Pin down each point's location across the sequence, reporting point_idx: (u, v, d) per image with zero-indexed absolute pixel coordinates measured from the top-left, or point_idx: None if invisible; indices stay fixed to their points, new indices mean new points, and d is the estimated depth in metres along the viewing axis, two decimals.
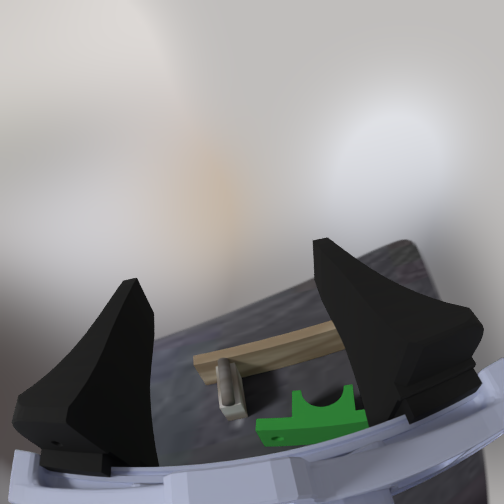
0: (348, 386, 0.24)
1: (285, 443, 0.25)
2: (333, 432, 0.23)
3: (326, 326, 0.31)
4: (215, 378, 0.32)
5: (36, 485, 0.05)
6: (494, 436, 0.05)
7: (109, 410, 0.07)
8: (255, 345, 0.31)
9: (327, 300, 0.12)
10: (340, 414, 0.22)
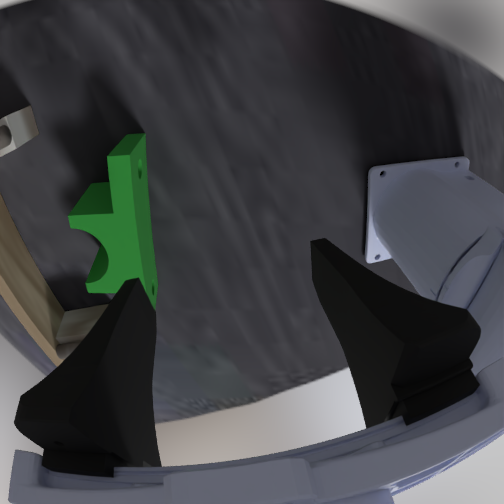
0: (71, 221, 0.14)
1: (154, 268, 0.21)
2: (143, 229, 0.17)
3: None
4: None
5: (36, 486, 0.05)
6: (494, 436, 0.05)
7: (112, 410, 0.07)
8: (28, 326, 0.18)
9: (325, 301, 0.12)
10: (121, 234, 0.15)
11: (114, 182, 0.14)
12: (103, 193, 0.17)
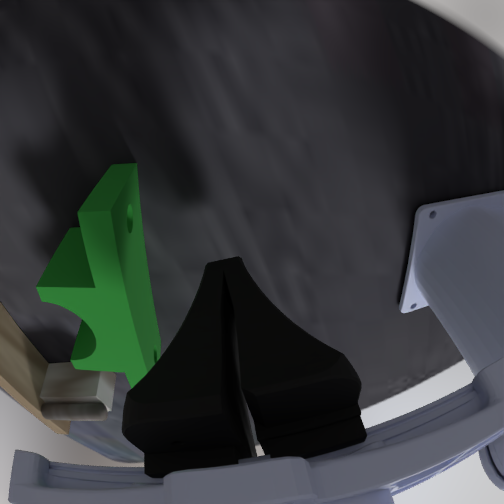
0: (41, 294, 0.10)
1: (155, 329, 0.17)
2: (138, 296, 0.13)
3: None
4: None
5: (35, 486, 0.05)
6: (494, 436, 0.05)
7: (233, 396, 0.07)
8: (7, 388, 0.14)
9: None
10: (108, 313, 0.11)
11: (91, 248, 0.09)
12: (83, 247, 0.12)
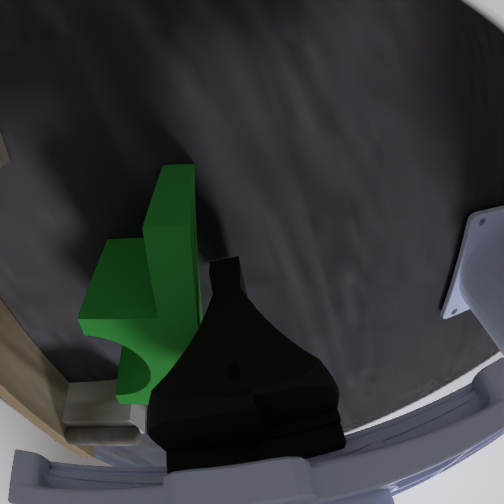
0: (85, 327, 0.09)
1: None
2: None
3: None
4: None
5: (36, 485, 0.05)
6: (494, 436, 0.05)
7: None
8: (26, 414, 0.12)
9: None
10: (171, 345, 0.09)
11: (159, 272, 0.08)
12: (130, 266, 0.11)
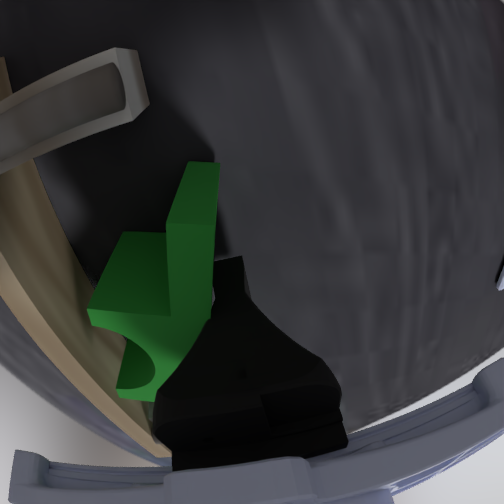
0: (93, 317, 0.09)
1: None
2: None
3: (23, 309, 0.08)
4: None
5: (36, 485, 0.05)
6: (494, 436, 0.05)
7: None
8: (114, 415, 0.13)
9: None
10: (181, 345, 0.09)
11: (177, 270, 0.08)
12: (145, 260, 0.11)
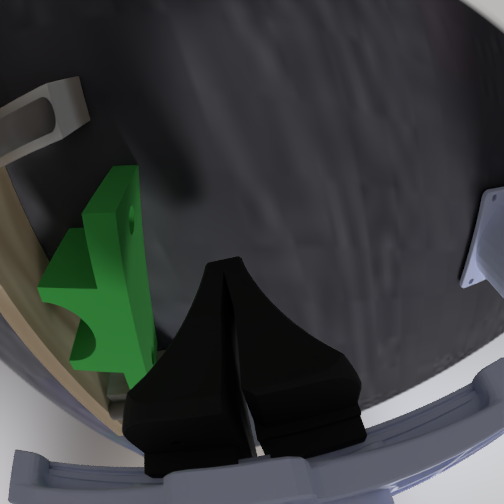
0: (42, 294, 0.10)
1: (153, 329, 0.17)
2: (138, 297, 0.13)
3: None
4: None
5: (36, 485, 0.05)
6: (494, 436, 0.05)
7: (233, 396, 0.07)
8: (72, 388, 0.14)
9: None
10: (109, 313, 0.11)
11: (95, 249, 0.09)
12: (83, 248, 0.12)
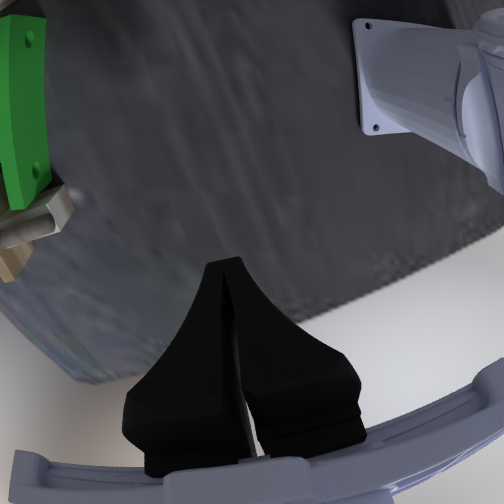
0: None
1: (44, 155, 0.16)
2: (23, 95, 0.12)
3: None
4: None
5: (35, 485, 0.05)
6: (494, 436, 0.05)
7: (233, 396, 0.07)
8: None
9: None
10: None
11: None
12: None
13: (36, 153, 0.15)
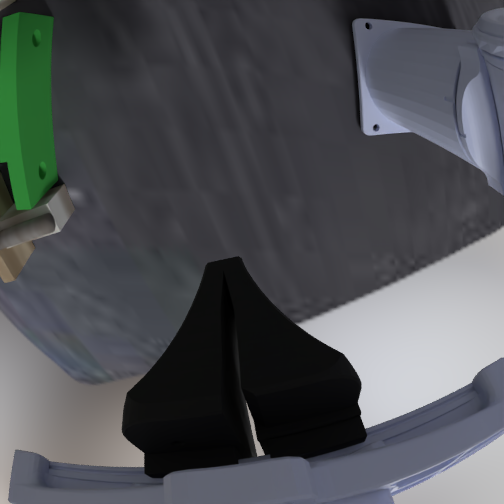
0: None
1: (50, 155, 0.16)
2: (30, 94, 0.12)
3: None
4: None
5: (35, 485, 0.05)
6: (494, 436, 0.05)
7: (233, 396, 0.07)
8: None
9: None
10: (3, 91, 0.11)
11: (4, 39, 0.09)
12: None
13: (42, 153, 0.15)
